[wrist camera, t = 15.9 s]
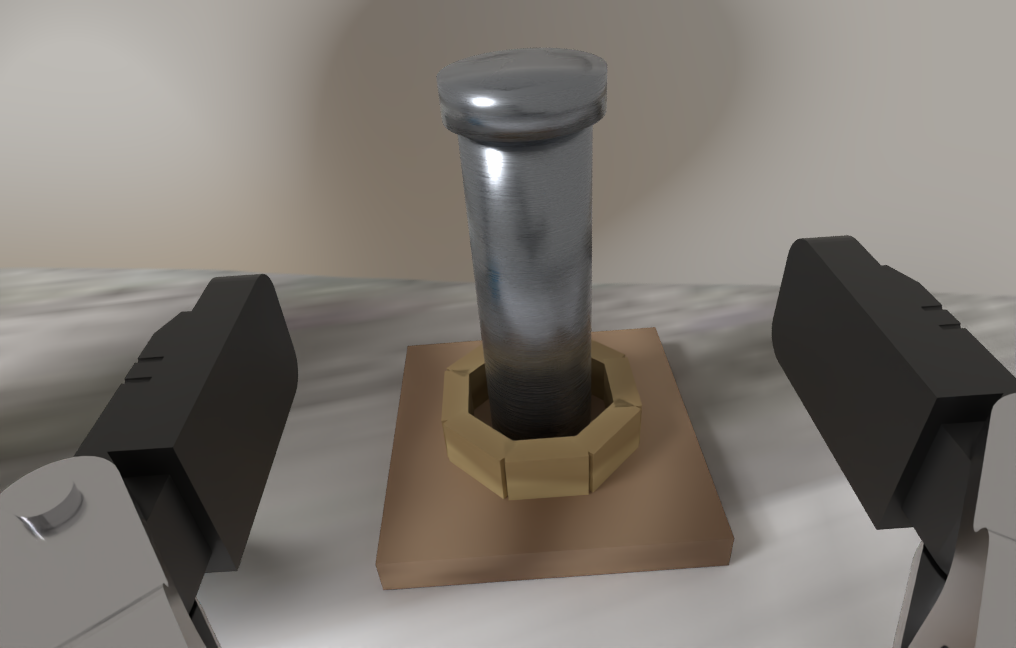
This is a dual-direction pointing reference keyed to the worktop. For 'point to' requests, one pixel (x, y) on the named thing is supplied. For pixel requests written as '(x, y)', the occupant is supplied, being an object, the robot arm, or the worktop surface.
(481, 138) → the pin
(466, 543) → the stand
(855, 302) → the robot arm
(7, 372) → the worktop surface
